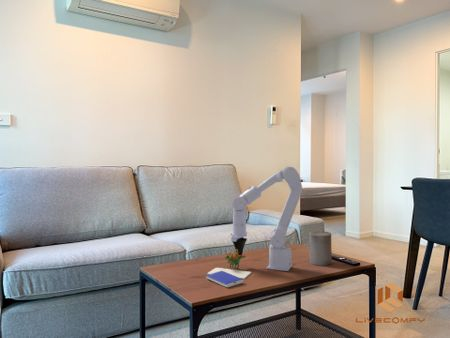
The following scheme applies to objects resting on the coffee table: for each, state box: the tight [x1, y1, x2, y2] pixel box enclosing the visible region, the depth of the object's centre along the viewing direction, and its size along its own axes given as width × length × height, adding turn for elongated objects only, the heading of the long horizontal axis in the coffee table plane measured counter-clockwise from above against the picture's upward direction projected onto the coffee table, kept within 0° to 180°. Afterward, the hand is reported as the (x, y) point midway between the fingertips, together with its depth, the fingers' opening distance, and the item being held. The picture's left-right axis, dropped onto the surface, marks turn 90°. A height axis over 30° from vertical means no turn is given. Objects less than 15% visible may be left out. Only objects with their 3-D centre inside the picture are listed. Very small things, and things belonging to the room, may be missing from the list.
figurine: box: [224, 249, 247, 270], centre depth 155 cm, size 3×12×8 cm, turn 129°
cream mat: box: [206, 267, 252, 280], centre depth 149 cm, size 16×9×1 cm, turn 67°
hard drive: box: [205, 271, 244, 288], centre depth 139 cm, size 2×8×12 cm
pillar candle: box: [308, 230, 333, 267], centre depth 165 cm, size 10×10×15 cm
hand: (239, 255), depth 159 cm, fingers closed
